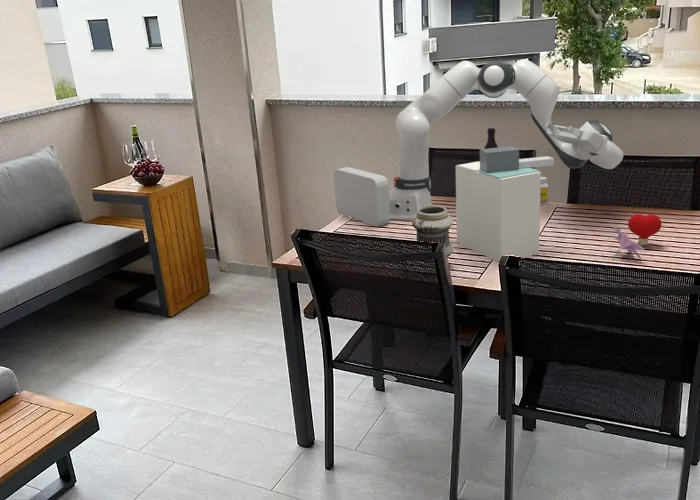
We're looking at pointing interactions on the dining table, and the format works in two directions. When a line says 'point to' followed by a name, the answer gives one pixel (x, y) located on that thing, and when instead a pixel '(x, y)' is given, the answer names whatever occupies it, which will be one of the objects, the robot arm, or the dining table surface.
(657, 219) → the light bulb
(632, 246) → the lily
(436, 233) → the apothecary jar
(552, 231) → the dining table surface
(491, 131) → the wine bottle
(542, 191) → the supplement bottle
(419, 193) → the robot arm
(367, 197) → the rounded white slab
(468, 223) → the stand
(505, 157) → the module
